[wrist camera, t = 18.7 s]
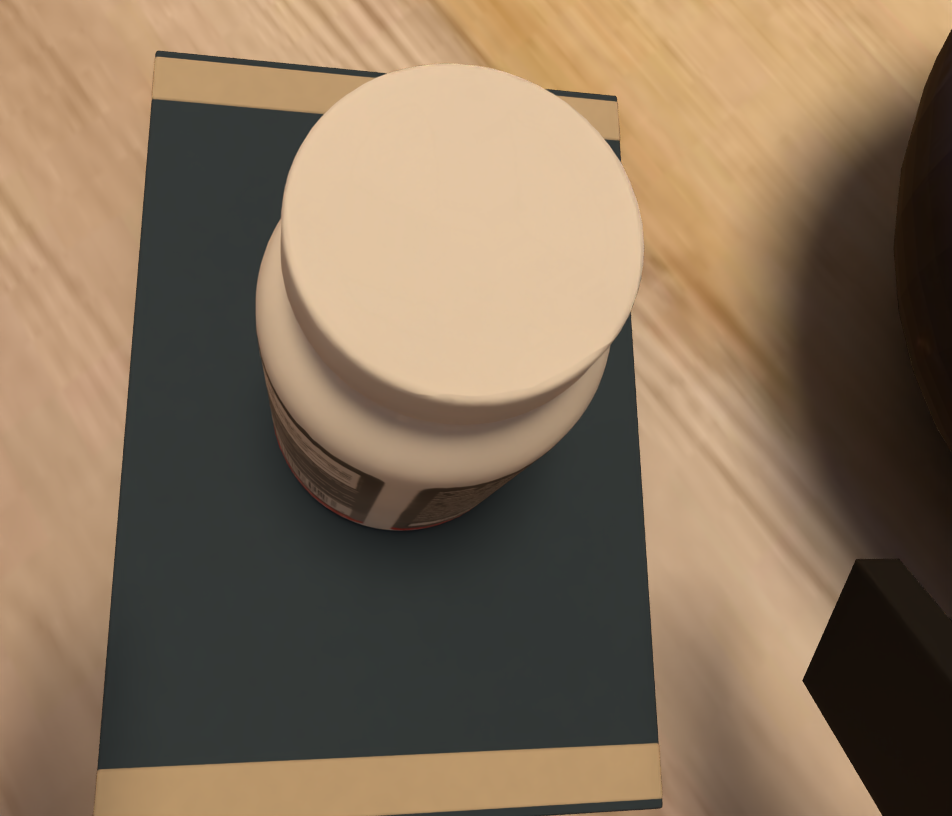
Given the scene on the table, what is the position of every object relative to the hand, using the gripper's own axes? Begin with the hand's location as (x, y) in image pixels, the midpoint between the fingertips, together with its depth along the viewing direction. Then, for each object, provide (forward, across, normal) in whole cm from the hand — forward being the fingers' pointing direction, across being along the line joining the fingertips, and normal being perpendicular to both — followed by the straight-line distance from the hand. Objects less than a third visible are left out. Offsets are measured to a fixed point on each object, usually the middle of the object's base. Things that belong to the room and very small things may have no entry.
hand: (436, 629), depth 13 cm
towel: (+8, 0, -2) cm, 9 cm away
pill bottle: (+8, 0, -1) cm, 8 cm away
